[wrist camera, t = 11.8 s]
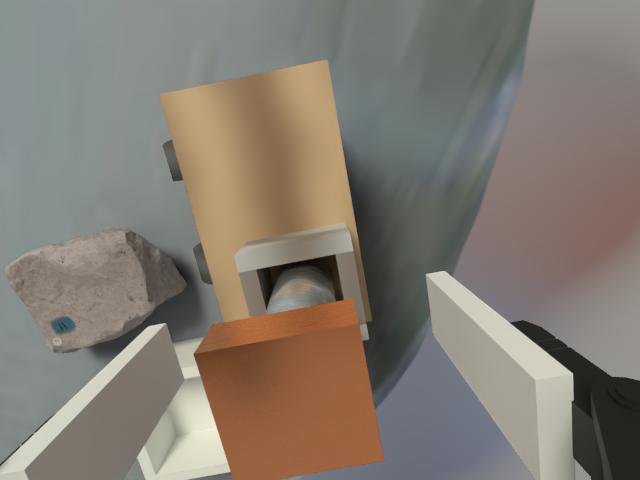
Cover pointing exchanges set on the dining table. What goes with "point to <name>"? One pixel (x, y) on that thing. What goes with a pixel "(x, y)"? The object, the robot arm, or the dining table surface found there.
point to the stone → (93, 287)
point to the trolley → (266, 184)
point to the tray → (185, 430)
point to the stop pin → (292, 382)
